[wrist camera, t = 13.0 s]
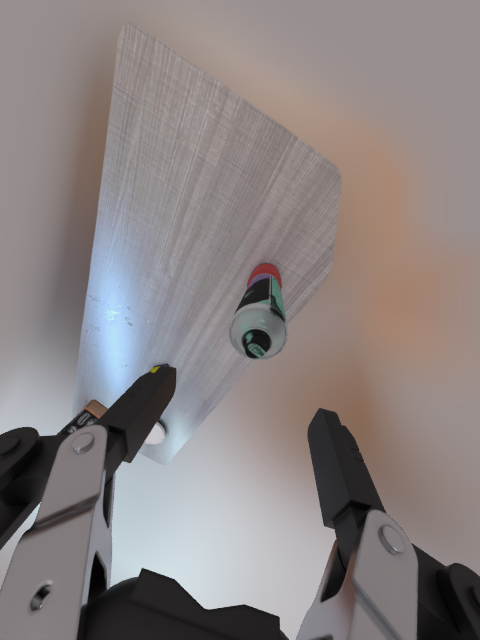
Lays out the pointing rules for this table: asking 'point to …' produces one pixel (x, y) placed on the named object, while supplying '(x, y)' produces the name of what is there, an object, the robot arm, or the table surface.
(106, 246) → the table surface
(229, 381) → the table surface
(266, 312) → the spray can
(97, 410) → the whiskey bottle
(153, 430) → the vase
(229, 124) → the table surface
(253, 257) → the table surface
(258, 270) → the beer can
